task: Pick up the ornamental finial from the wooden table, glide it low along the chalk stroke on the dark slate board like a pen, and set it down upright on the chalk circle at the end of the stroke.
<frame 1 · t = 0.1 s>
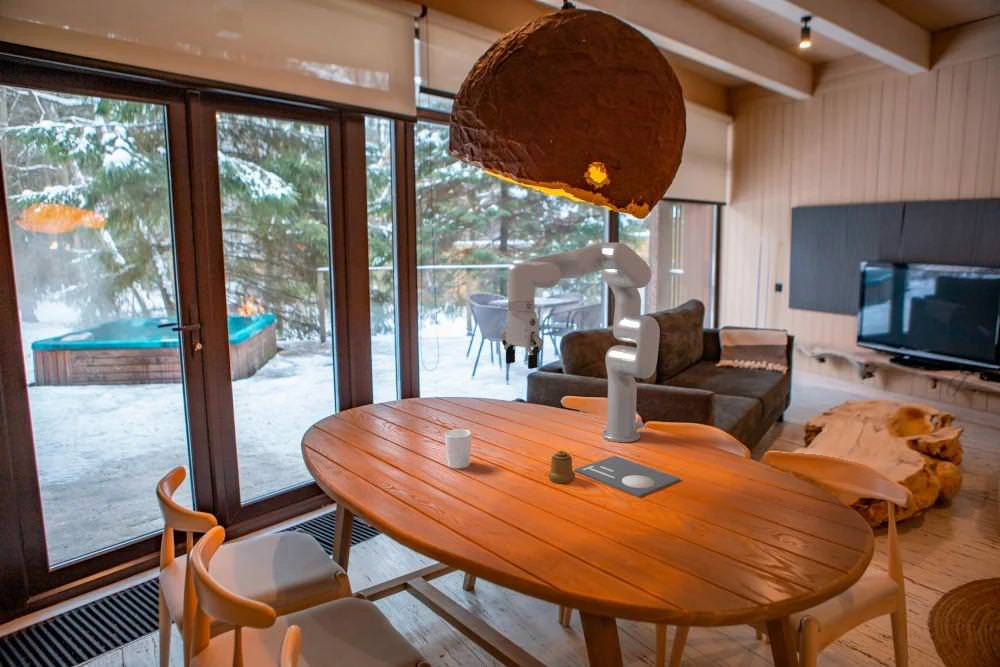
hand: (521, 365, 181), 31 cm above the table, tool pointing down, fingers open, 9 cm apart
slate board: (626, 475, 180), on the table
ornamental finial: (561, 480, 177), on the table
white cup: (458, 465, 189), on the table
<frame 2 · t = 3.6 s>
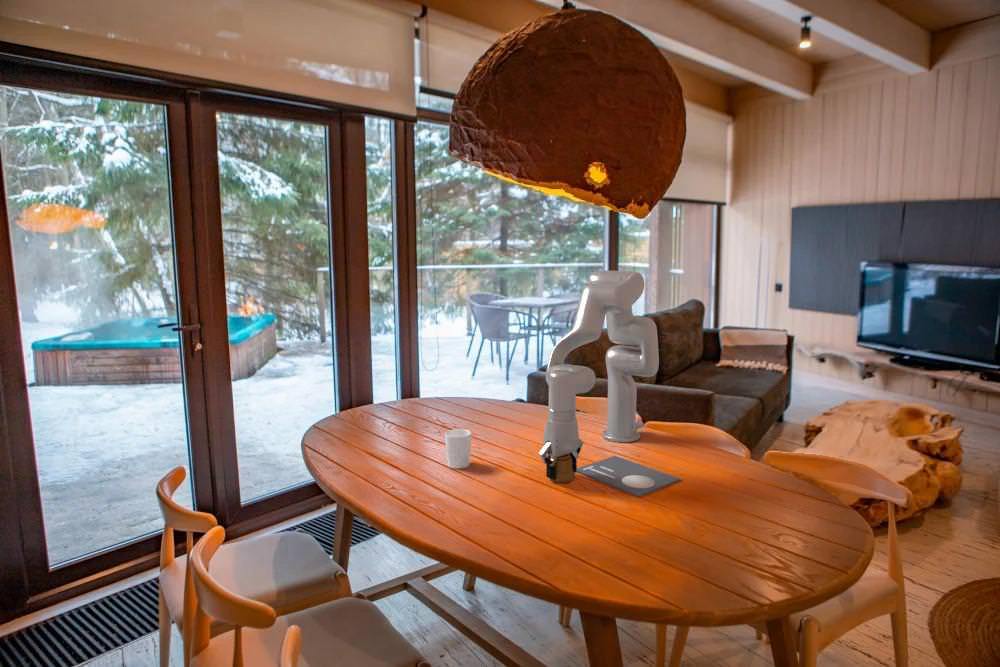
hand: (561, 474, 177), 1 cm above the table, tool pointing down, fingers closed on ornamental finial, 7 cm apart
ornamental finial: (561, 479, 177), on the table, touching gripper
everything else where it was.
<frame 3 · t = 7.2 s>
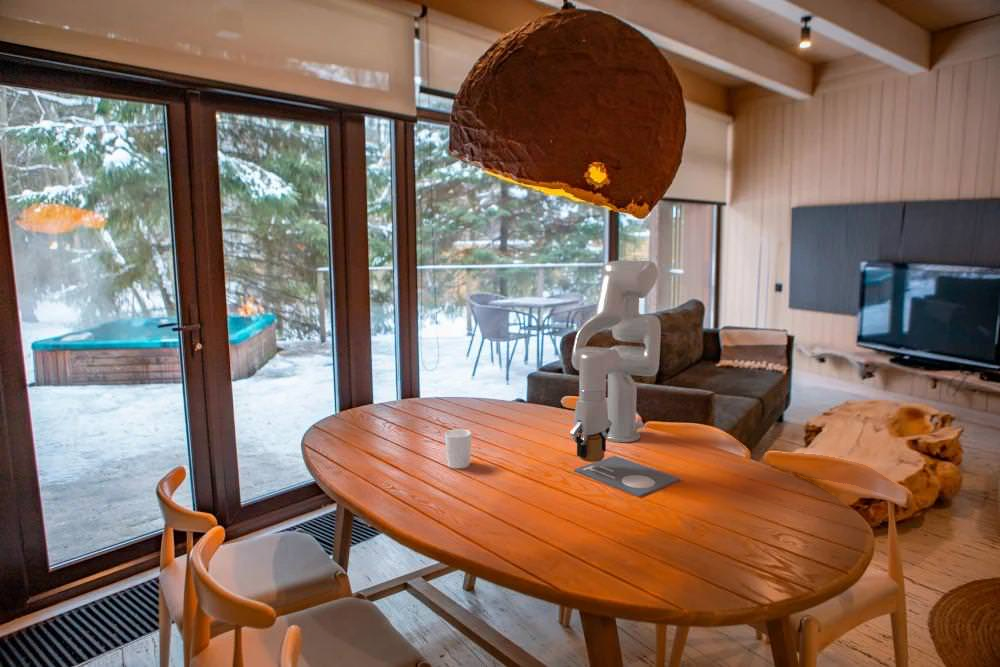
hand: (591, 453, 183), 5 cm above the table, tool pointing down, fingers closed on ornamental finial, 7 cm apart
ornamental finial: (591, 458, 183), point 4 cm above the table, touching gripper
everything else where it was.
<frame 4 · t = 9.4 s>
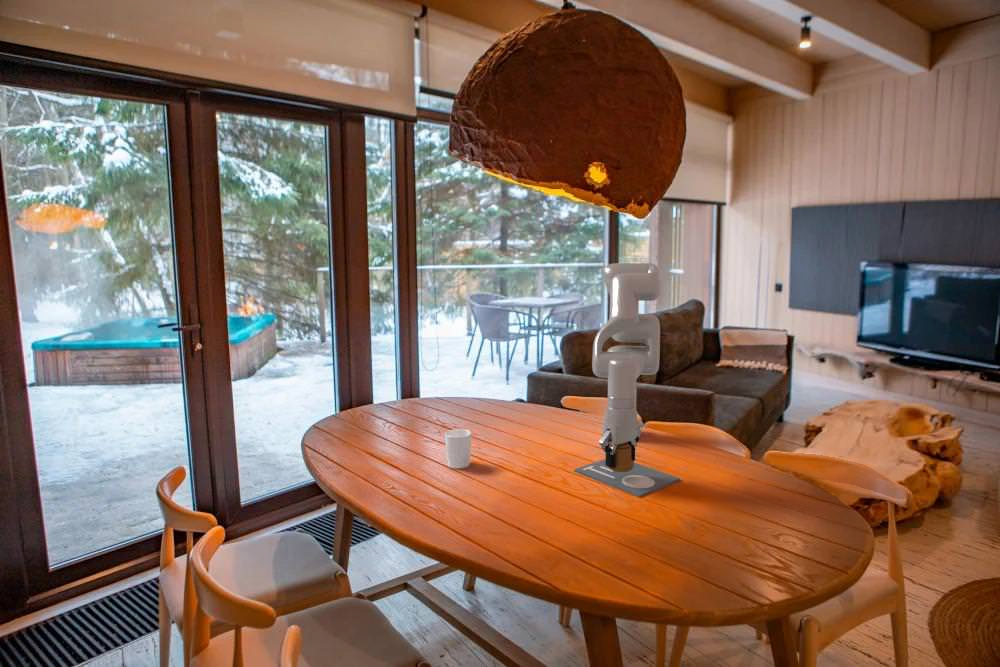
hand: (620, 463, 175), 5 cm above the table, tool pointing down, fingers closed on ornamental finial, 7 cm apart
ornamental finial: (620, 468, 175), point 4 cm above the table, touching gripper
everything else where it was.
when the fingers open (3 cm above the table, at t = 11.3 s): ornamental finial drops 1 cm, resting on slate board.
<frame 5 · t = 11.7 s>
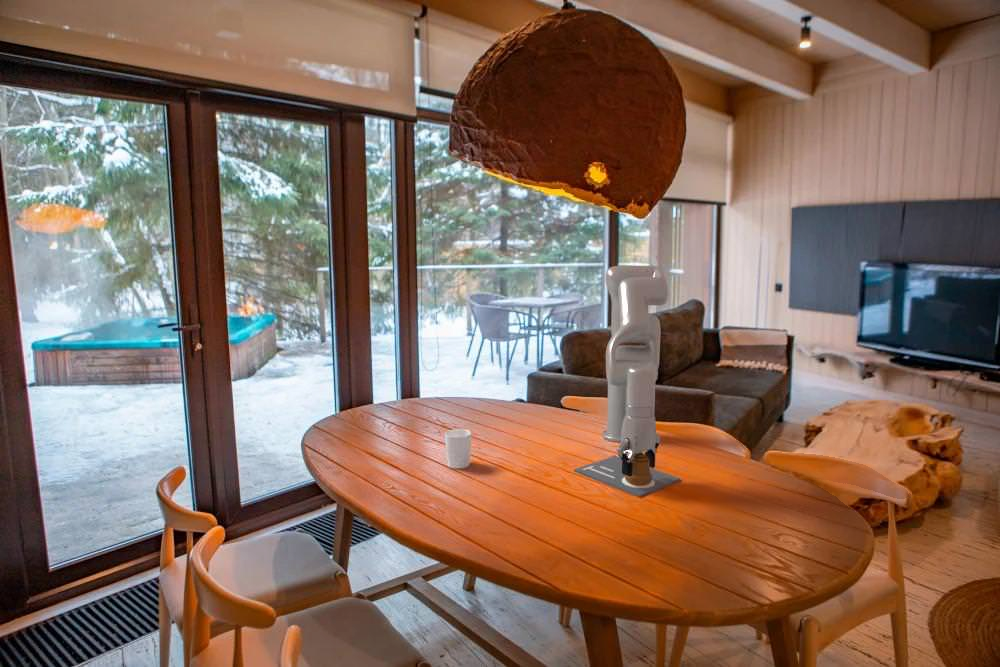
hand: (638, 470, 173), 4 cm above the table, tool pointing down, fingers open, 9 cm apart
ornamental finial: (638, 481, 174), point 1 cm above the table, touching slate board
everything else where it was.
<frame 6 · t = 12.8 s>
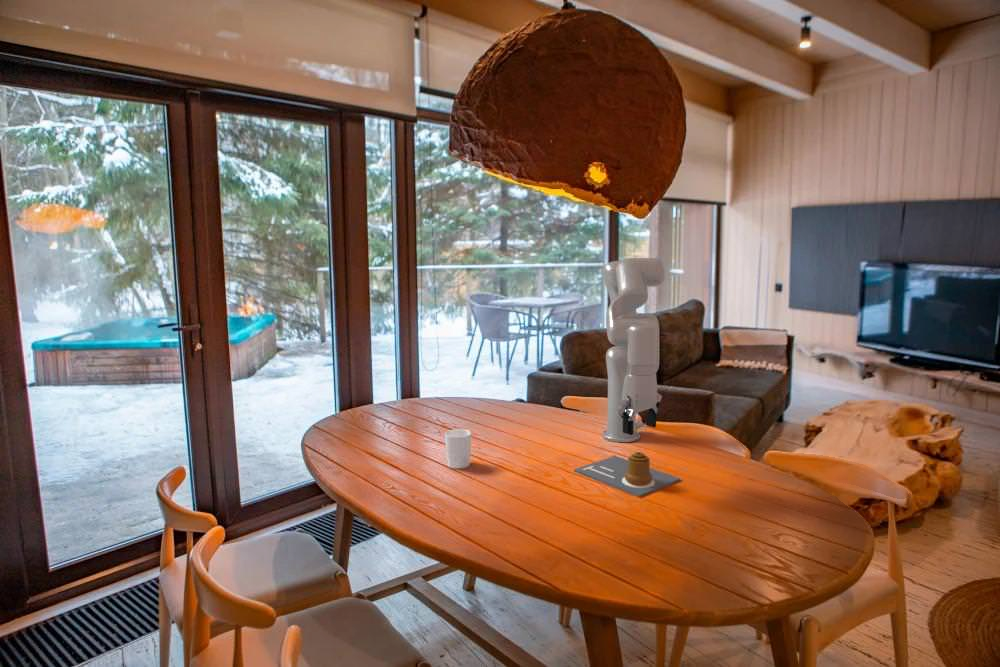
hand: (639, 429, 172), 15 cm above the table, tool pointing down, fingers open, 9 cm apart
nothing on the table moved.
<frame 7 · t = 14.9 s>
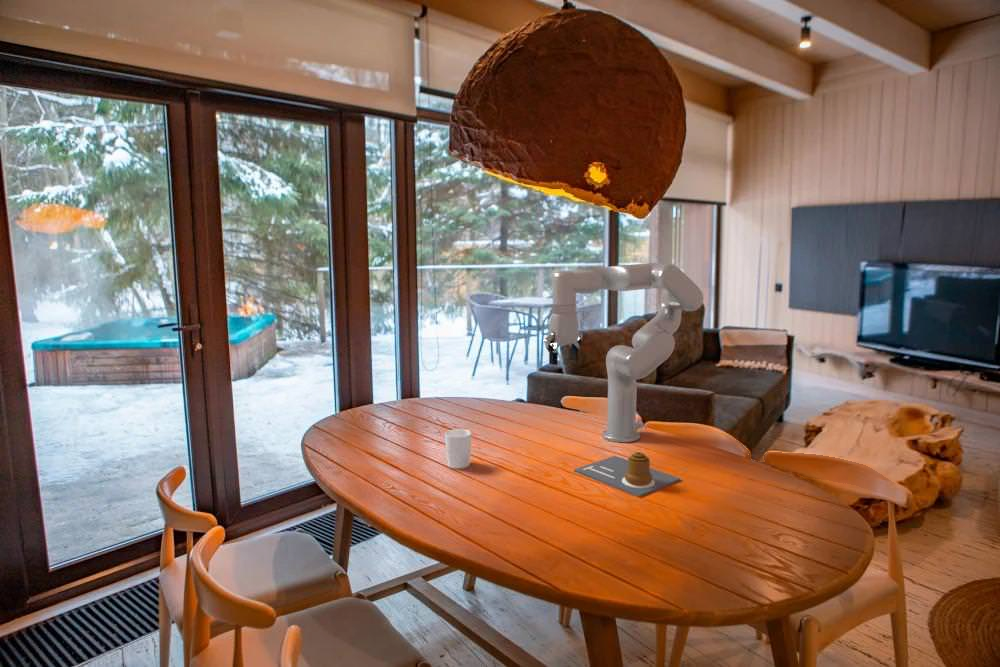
hand: (563, 362, 203), 28 cm above the table, tool pointing down, fingers open, 9 cm apart
nothing on the table moved.
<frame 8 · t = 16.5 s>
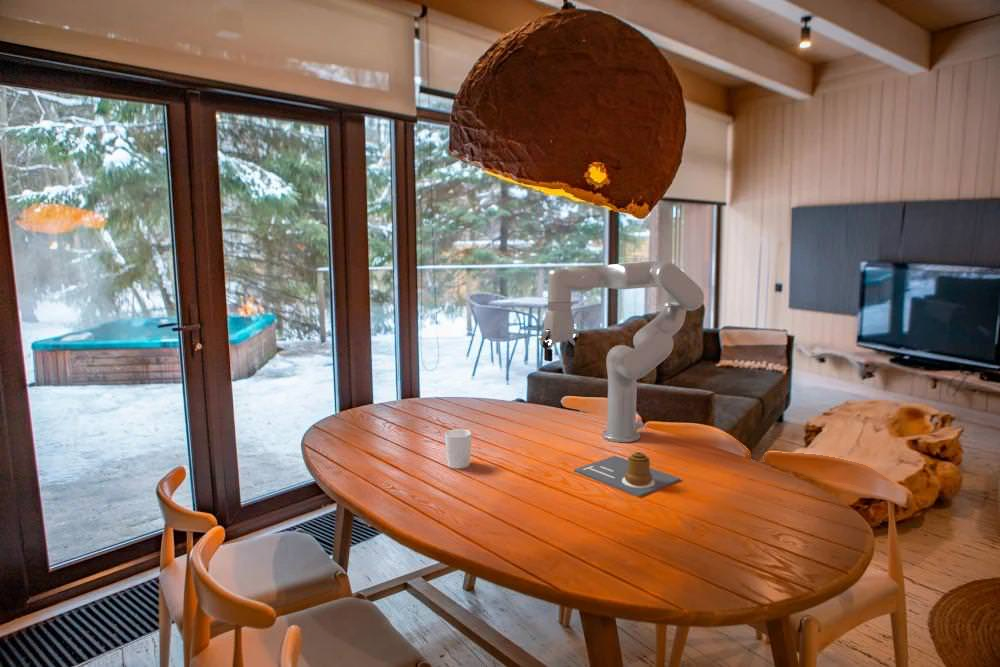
hand: (559, 358, 205), 28 cm above the table, tool pointing down, fingers open, 9 cm apart
nothing on the table moved.
at the end: ornamental finial inside the target area on the slate board (0.1 cm from its centre), point 0.5 cm above the slate board's base; ornamental finial touching slate board; ornamental finial tilted 0° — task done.
